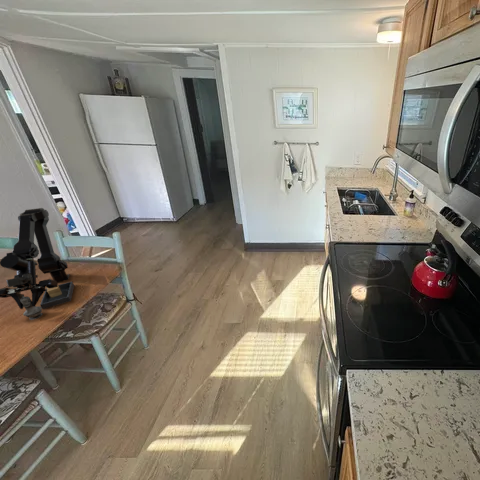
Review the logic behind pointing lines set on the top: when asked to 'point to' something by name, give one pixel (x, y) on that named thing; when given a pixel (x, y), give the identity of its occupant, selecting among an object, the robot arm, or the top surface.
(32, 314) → the grey statuette
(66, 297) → the tray
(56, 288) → the block
